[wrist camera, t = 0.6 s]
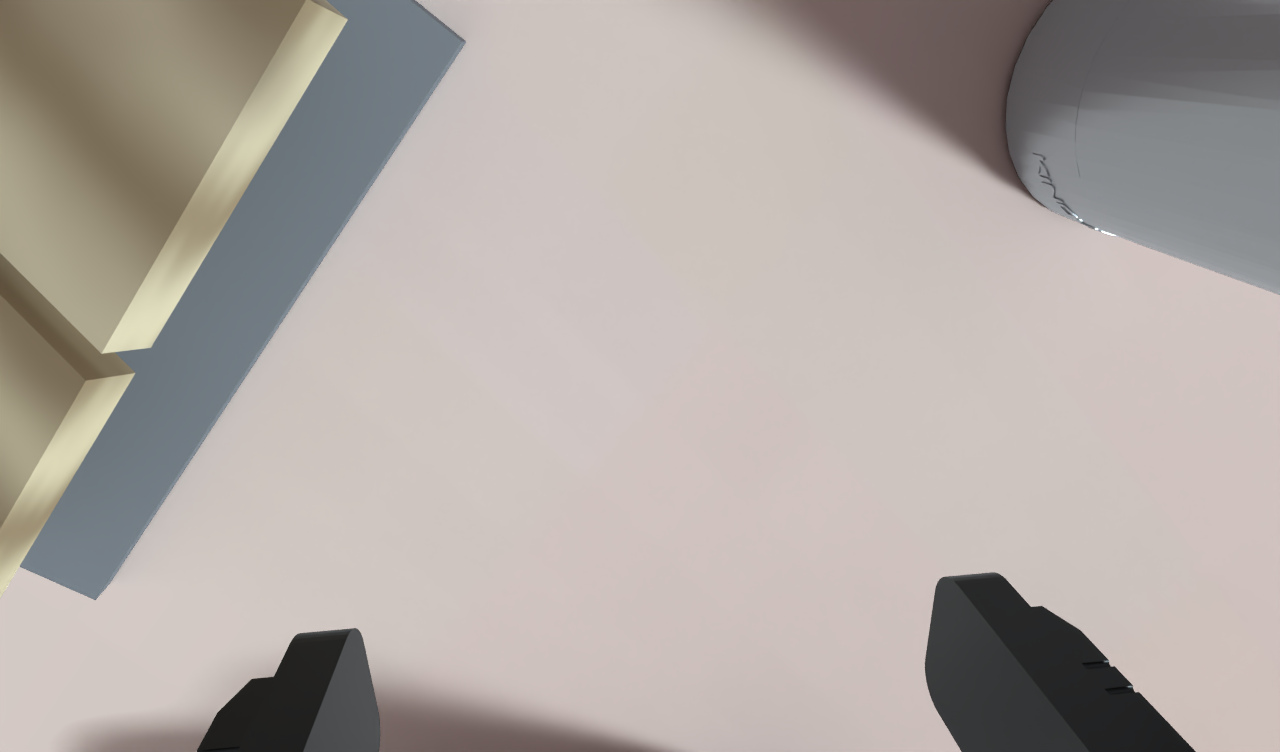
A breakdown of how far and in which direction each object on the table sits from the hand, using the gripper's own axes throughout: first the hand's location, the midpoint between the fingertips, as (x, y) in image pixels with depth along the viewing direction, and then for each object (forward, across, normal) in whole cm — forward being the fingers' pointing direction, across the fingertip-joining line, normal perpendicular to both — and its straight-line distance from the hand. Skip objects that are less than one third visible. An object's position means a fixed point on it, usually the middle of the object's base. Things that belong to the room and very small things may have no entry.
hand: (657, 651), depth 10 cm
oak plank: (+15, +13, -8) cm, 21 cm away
